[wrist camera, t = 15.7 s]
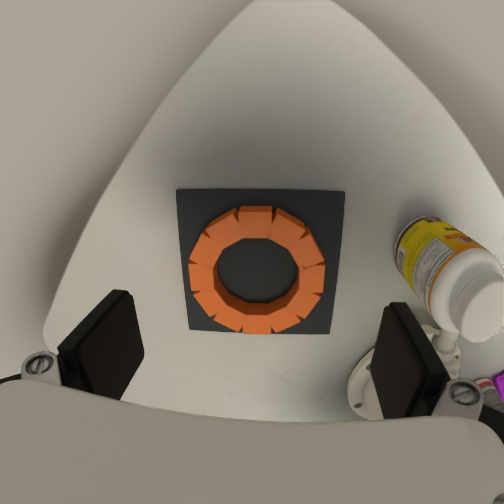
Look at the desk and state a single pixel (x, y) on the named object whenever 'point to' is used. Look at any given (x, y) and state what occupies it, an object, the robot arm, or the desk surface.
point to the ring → (257, 226)
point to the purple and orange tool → (500, 385)
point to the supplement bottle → (452, 277)
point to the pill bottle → (491, 395)
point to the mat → (262, 250)
